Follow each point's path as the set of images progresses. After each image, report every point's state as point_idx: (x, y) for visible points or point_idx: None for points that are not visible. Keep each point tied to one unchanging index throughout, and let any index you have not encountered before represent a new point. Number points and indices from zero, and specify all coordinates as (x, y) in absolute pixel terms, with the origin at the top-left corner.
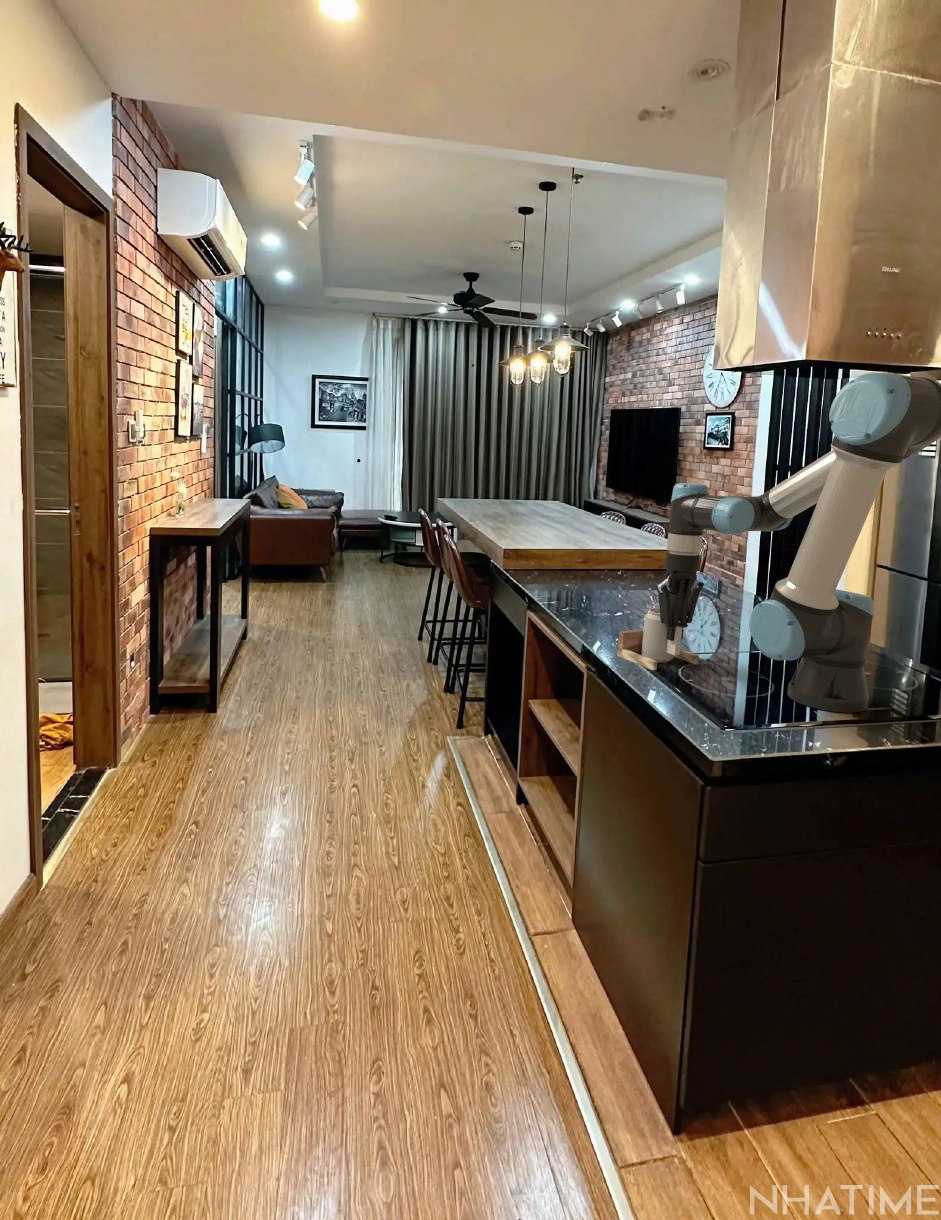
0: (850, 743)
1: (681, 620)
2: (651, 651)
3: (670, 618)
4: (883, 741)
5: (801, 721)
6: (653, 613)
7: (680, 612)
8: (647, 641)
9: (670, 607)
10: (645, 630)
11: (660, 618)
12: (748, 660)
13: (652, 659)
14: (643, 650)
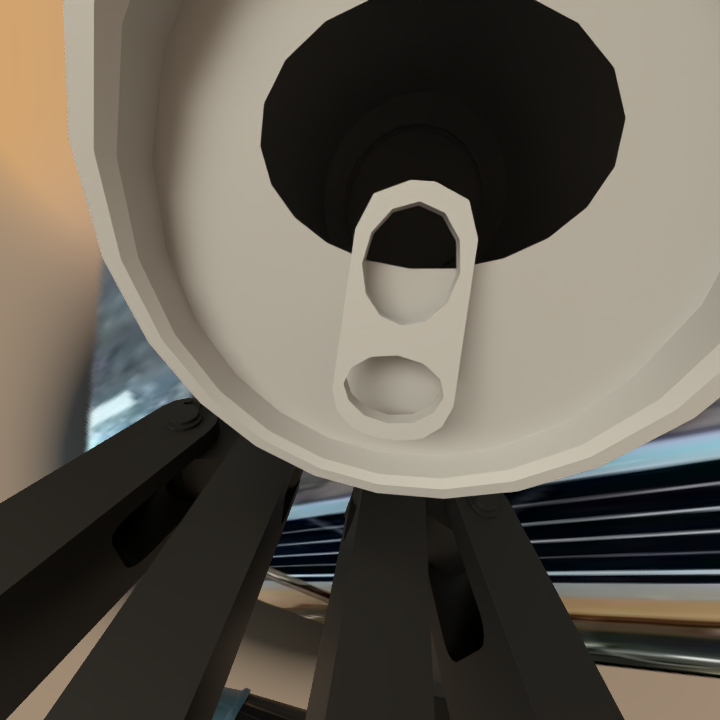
0: (269, 599)
1: (343, 531)
2: (315, 233)
3: (163, 529)
4: (311, 615)
5: (282, 572)
6: (122, 249)
7: (327, 622)
8: (291, 193)
9: (1, 713)
10: (264, 131)
11: (126, 429)
12: (700, 460)
13: (332, 236)
14: (325, 155)
